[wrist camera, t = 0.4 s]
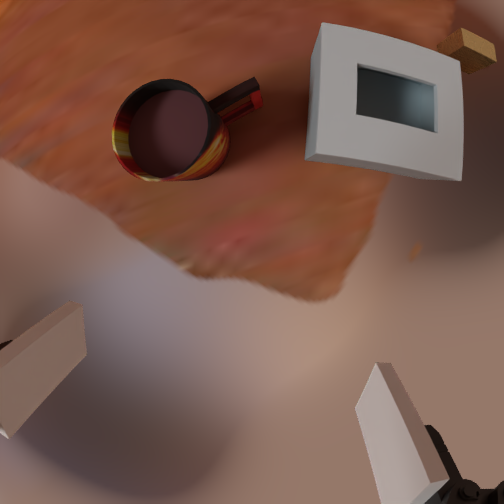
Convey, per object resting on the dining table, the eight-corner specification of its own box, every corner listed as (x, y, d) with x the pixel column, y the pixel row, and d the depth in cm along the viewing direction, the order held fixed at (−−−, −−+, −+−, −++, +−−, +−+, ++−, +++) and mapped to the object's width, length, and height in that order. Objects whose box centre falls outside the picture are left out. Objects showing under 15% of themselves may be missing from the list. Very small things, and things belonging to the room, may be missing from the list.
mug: (265, 105, 34) (262, 73, 22) (201, 195, 37) (171, 202, 26) (203, 69, 33) (176, 29, 22) (143, 155, 37) (95, 149, 25)
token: (436, 45, 29) (460, 27, 22) (467, 58, 29) (493, 44, 22) (438, 61, 30) (464, 45, 23) (469, 74, 30) (496, 62, 23)
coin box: (311, 57, 32) (322, 22, 22) (423, 82, 31) (459, 61, 22) (304, 160, 35) (316, 153, 26) (420, 178, 35) (461, 181, 25)
